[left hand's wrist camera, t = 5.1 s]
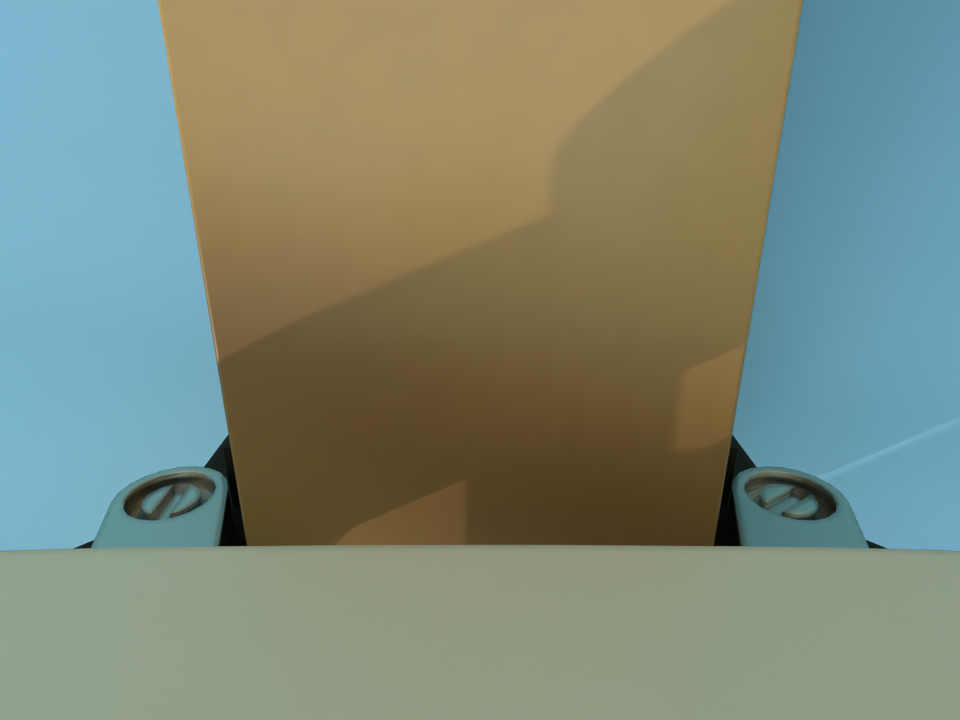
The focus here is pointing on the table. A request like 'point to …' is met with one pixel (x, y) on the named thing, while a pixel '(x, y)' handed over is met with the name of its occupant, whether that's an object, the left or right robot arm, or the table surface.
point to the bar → (480, 258)
